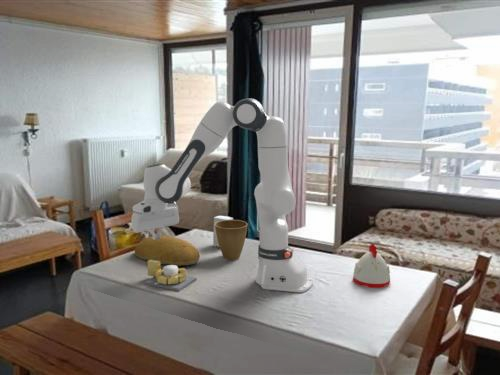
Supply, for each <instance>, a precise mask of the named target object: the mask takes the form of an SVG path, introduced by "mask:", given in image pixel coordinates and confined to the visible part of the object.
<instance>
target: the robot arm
mask: <svg viewBox="0 0 500 375" xmlns="http://www.w3.org/2000/svg"><path fill="white" fill-rule="evenodd" d="M265 111H266V110H265V108H264V106H263V105H262V104H261V102H260V101H258V100H257V99H255V98H247V97H246V98H243V99H241V100H238V101H237V102H236V103H235V105H231V104H229V103H228V102H224V101H217V102H215V103H213V105H212V106H211V107H210V108H209V109H208V110H207V112H206V113H205V114H204V116H203V117H202V118H201V120H200V121H199V123H198V125H197V127H196V128H195V130H194V132H193V134H192V136H191V138H190V140H189V142H188V144H187V145H186V148H185V149H184V151H182V154H181V156H180V157H179V158H178V159H177V162H175V164H174V165H173V167H172V168H170V167H169V166H166V165H165V164H164V163H155V164H151V165H148V166H146V167H145V169H144V173H143V188H144V197H143V200H141V201H140V202H138V203H137V204H134V205H133V206H132V211H133V213H132V214H131V223H130V226H131V227H130V228H131V230H132V231H133V232H136V233H142V232H146V231H149V233H150V234H151V235H152V239H154V240H155V239H160V238H161V236H162V234H163V232H164V228H166V227H171V226H175V225H178V224H179V223H180V216H179V215H180V214H179V206H178V204H177V202H178V201H179V200H180V199H181V198H183V197H184V196H186V195H187V194H188V193H189V192H190V191H191V188H192V182H191V179H190V177H189V176H190V175H191V173H192V171H193V170H195V167H196V166H197V164H198V163H200V162H201V161H202V160H203V159H204V158H205V157H207V156H209V155H210V154H212V153H214V152H215V151H216V150H217V149H218V148H219V147H220V145H221V144H222V143H223V142H224V140H225V139H226V138H227V135H228V134H229V132H230V131H231V130H232V129H233V128H234V127H236V126H239V127H240V128H242V129H245V130H249V131H253V132H255V133H256V137H257V138H256V139H257V159H258V160H257V161H258V163H257V164H258V166H257V167H258V170H259V173H260V177H261V181H260V183H258V184H257V185H256V186H255V188H254V193H253V195H254V198H255V204H256V212H257V218H258V224H259V225H258V227H259V228H258V229H259V244H258V248H257V250H258V251H257V255H258V265H257V266H258V267H257V273H256V277H255V280H254V281H255V283H256V284H257V285H259V286H260V287H261V289H263V290H270V291H279V292H282V291H283V292H292V293H305V292H306V291H308V290H309V289H310V288H312V286H313V285H314V279H313V278H312V277H309V276H308V273H307V272H308V271H307V268H306V266H305V265H304V263H301V262H300V261H299V260H298V259H297V258H296V257H294V256H293V254H294V253H293V252H294V249H295V248H294V247H292V248H291V247H290V246H289V225H288V223H287V219H286V216H287V215H289V214H290V213H292V212H293V211H294V210H295V207H296V204H297V199H296V196H295V194H294V191H293V187H292V186H293V185H292V181H291V175H290V171H289V163H288V160H289V159H288V156H289V155H288V153H289V152H288V137H287V130H286V124H285V122H284V120H283V119H282V118H280V117H278V116H274V115H273V116H272V115H267V114H266V112H265ZM156 229H157V233H156Z"/></svg>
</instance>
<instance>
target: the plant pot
mask: <svg viewBox="0 0 500 375" xmlns="http://www.w3.org/2000/svg"><path fill="white" fill-rule="evenodd" d="M215 229H216V235H217V239H218V243H219V246H220V247H219V250H220V252H221V255H222V257H223V259H225V260H230V261H232V260H233V261H235V260H238V259H239V258H240V257H241V254H242V252H243V248H244V245H245V242H246V238H247V237H246V236H247V232H248V223H247V222H246V221H243V220H240V219H233V220H223V221H219V222H217V223H215Z"/></svg>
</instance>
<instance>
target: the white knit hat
mask: <svg viewBox="0 0 500 375" xmlns="http://www.w3.org/2000/svg"><path fill="white" fill-rule="evenodd" d="M353 270H354V271H353V274H352V276H353V279H352V280H353V282H354V283H355V284H357V285H358V286H361V287H365V288H370V289H371V288H372V289H380V288H382V289H383V288H386V287H388V286H390V284H391V271H390V265H388V264H387V262H386V261H385V259H384V258H383V257H382V255H381V254H379V253H378V250H377V246H376V245H375V244H374V243H370V245H369V246H368V252H366V253H365V254H363V255H362V256H361V257H360V258H359V260H358V261H357V262H355V265H354V269H353Z"/></svg>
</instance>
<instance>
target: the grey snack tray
mask: <svg viewBox="0 0 500 375" xmlns="http://www.w3.org/2000/svg"><path fill="white" fill-rule="evenodd" d="M178 268H179V266H176V265H170V264H167V265H164V266H163V267H162V269H163V276H168V277H169V276H170V274H173V273H174V274H175V276H176V275H178ZM197 280H198V278H197V277H196V276H195V277H193V276H190V275H186V279H185V280H184V281H182V282H181V283H179V282H178V283H177V284H170V285H168V284H167V285H166V284H161V283H158V282H157V281H156V277H154V276H152V277H151V278H149V279H147V280H145V281H144V285H147V286H152V287H156V288H160V289H161V288H162V289H167V290H171V291H176V292H181V291H182V290H183V289H185V288H187V287H188V286H190V285H191V284H193V283H195V282H196V281H197Z"/></svg>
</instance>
